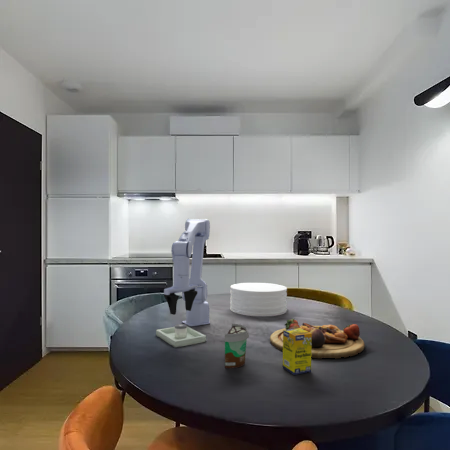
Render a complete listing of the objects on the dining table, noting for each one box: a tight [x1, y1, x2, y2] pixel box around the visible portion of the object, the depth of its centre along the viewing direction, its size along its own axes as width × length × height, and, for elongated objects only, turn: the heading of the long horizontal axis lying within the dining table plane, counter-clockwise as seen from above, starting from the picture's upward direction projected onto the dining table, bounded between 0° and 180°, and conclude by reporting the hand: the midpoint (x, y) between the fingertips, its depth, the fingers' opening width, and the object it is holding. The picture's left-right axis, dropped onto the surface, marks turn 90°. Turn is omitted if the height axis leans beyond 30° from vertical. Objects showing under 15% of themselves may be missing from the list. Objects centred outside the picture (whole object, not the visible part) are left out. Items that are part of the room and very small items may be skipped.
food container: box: [223, 323, 250, 369], centre depth 104 cm, size 12×6×10 cm, turn 168°
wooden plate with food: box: [269, 318, 366, 359], centre depth 123 cm, size 32×32×8 cm
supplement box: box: [282, 328, 312, 376], centre depth 99 cm, size 6×6×11 cm
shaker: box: [174, 323, 188, 339], centre depth 127 cm, size 4×4×4 cm
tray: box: [155, 325, 207, 348], centre depth 126 cm, size 12×16×2 cm
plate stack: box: [229, 282, 288, 317], centre depth 175 cm, size 28×28×12 cm
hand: (180, 312), depth 126 cm, fingers open, 7 cm apart
